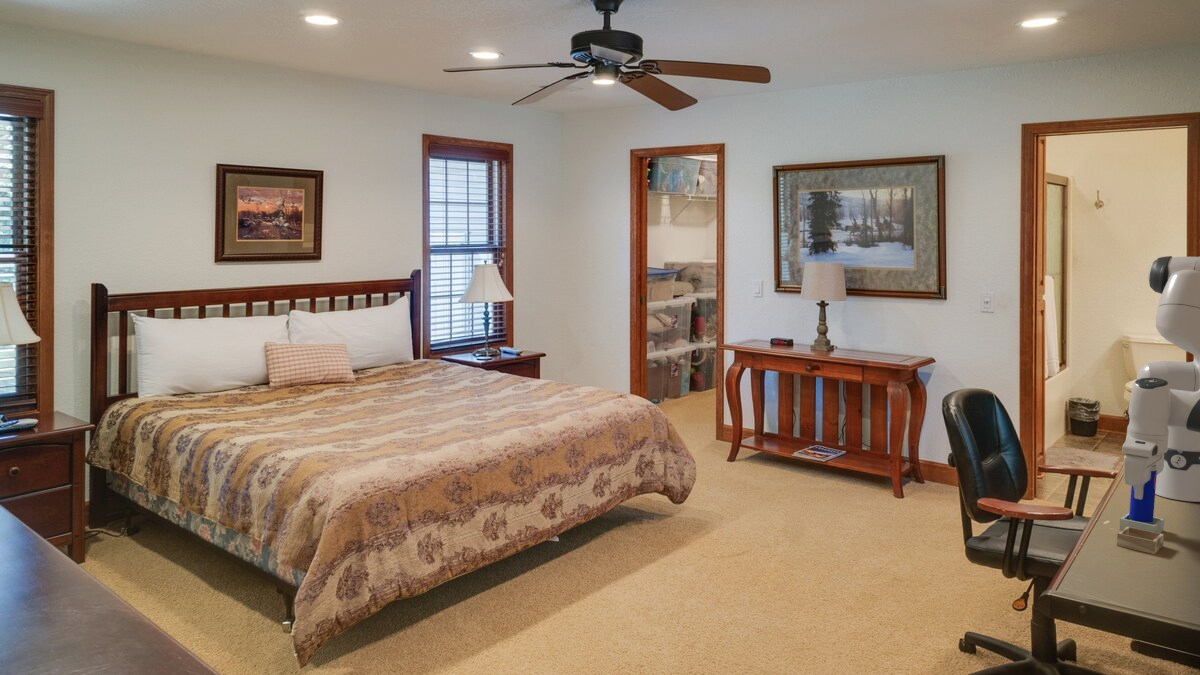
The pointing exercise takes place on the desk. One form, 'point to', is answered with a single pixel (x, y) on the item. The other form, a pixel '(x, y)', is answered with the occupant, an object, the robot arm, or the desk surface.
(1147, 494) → the beverage can
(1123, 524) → the bin sage
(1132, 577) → the desk surface
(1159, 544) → the bin oak
